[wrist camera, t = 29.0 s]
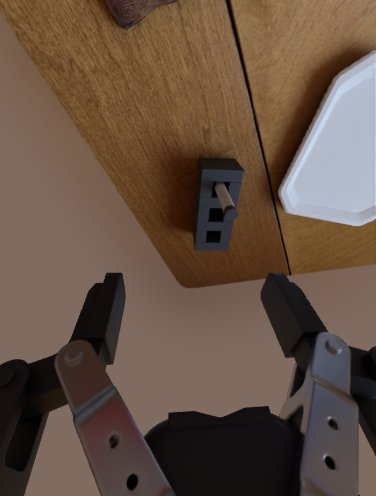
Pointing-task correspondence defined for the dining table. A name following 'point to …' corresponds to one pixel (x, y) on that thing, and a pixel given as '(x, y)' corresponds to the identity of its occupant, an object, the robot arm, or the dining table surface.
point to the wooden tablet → (132, 10)
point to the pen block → (214, 203)
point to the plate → (338, 152)
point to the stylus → (225, 200)
